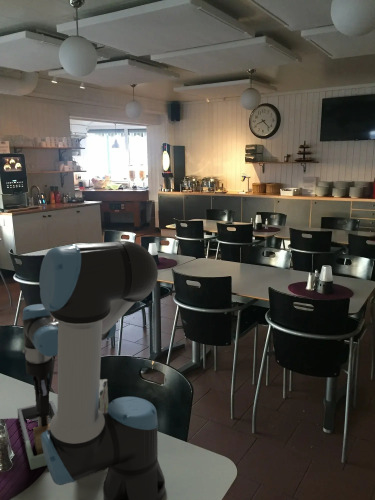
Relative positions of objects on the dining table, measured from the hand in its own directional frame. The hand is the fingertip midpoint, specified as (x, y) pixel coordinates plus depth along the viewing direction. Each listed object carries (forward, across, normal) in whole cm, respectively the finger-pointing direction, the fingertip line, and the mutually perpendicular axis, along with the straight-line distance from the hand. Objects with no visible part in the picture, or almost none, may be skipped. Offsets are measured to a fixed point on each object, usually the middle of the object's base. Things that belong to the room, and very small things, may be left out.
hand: (44, 433), depth 126 cm
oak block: (+2, +4, 0) cm, 4 cm away
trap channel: (+2, -2, 0) cm, 2 cm away
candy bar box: (+2, +7, +14) cm, 16 cm away
